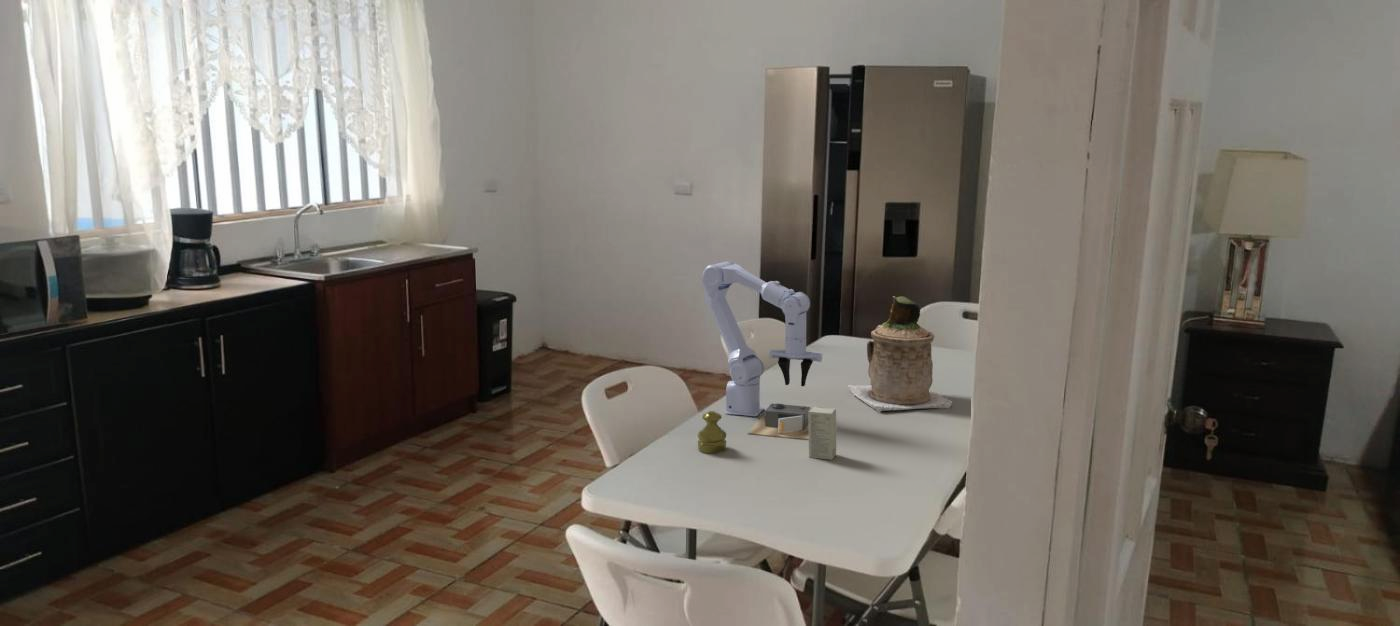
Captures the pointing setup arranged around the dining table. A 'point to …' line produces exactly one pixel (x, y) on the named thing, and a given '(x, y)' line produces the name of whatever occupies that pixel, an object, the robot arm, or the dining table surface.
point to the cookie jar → (900, 363)
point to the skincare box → (822, 432)
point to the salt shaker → (712, 434)
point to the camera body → (784, 413)
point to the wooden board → (773, 431)
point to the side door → (791, 424)
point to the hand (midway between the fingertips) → (795, 384)
